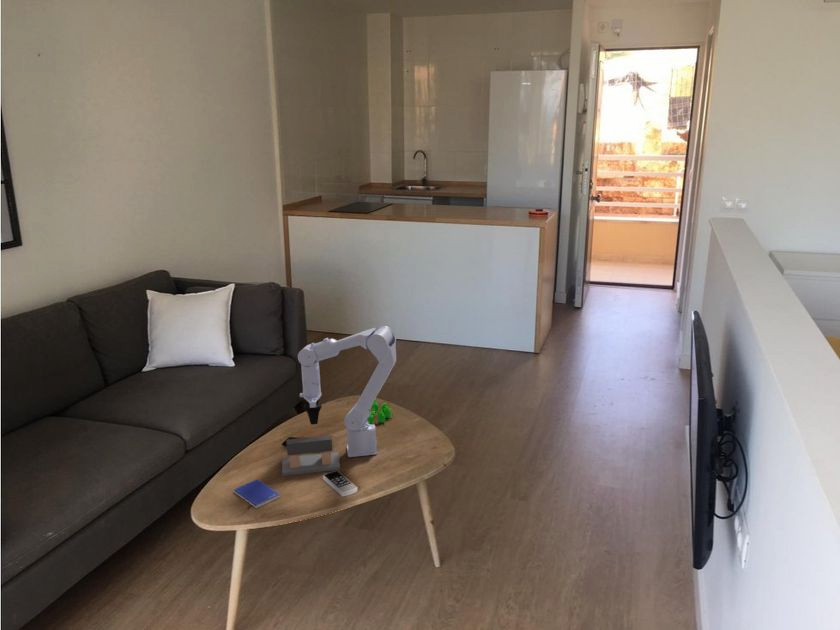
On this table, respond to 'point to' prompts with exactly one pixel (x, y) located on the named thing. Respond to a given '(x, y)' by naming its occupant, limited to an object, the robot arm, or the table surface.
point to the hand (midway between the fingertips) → (313, 418)
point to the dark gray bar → (309, 445)
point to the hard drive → (257, 493)
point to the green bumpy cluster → (380, 416)
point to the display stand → (310, 463)
